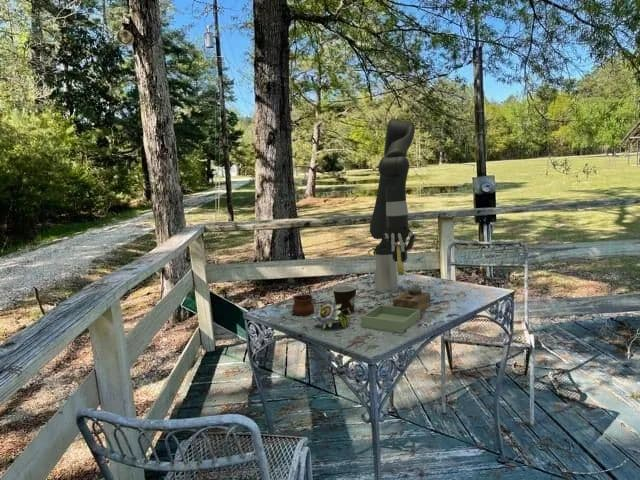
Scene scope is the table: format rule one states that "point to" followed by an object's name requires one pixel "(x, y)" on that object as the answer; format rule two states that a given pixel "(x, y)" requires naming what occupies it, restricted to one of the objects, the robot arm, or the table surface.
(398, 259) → the pin
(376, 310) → the pin tray
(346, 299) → the coffee mug
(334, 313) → the passion flower
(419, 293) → the block
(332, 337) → the table surface
